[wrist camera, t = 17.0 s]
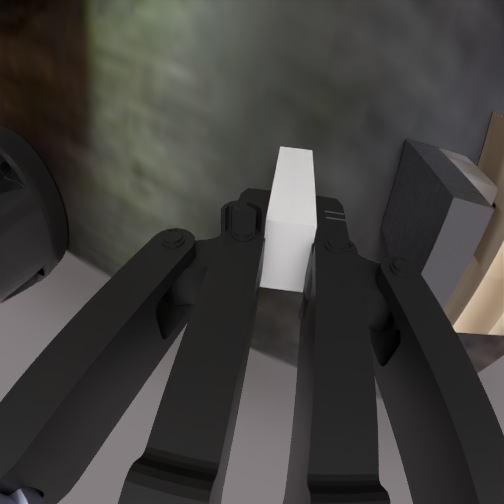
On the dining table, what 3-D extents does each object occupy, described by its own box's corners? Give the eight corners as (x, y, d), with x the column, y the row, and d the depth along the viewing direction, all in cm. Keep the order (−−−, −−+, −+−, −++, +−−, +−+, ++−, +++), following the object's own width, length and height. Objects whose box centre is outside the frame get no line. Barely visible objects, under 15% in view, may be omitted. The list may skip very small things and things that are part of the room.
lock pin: (381, 226, 18) (402, 309, 13) (405, 138, 15) (453, 197, 9) (487, 248, 17) (526, 322, 12) (518, 177, 14) (578, 240, 8)
